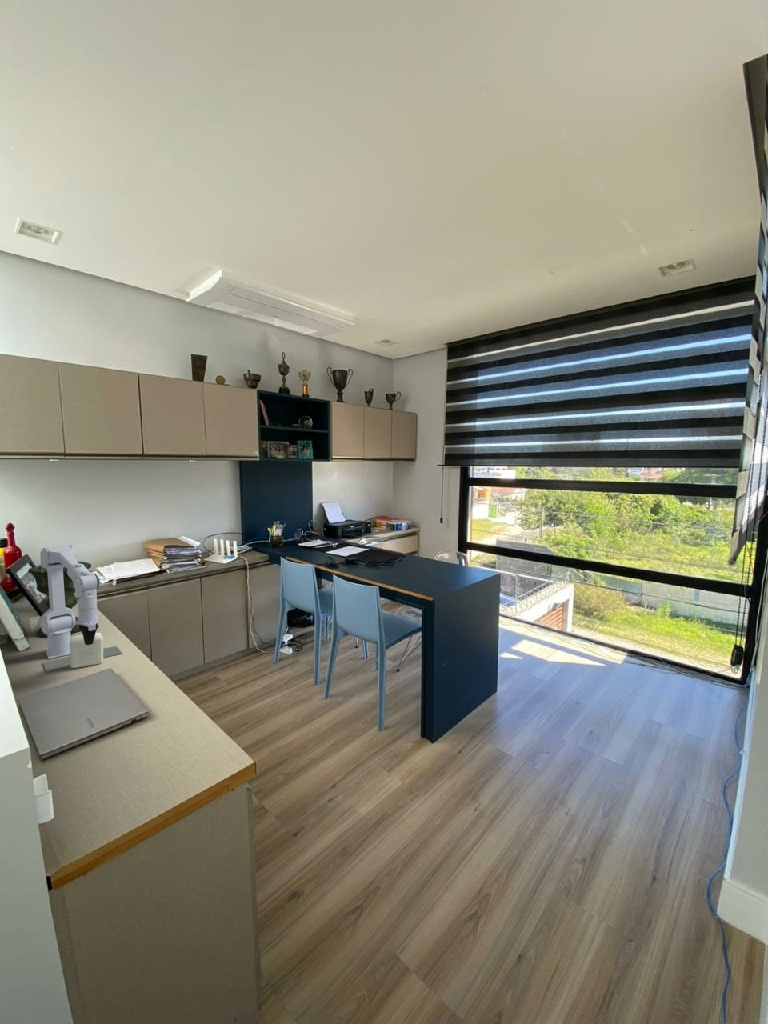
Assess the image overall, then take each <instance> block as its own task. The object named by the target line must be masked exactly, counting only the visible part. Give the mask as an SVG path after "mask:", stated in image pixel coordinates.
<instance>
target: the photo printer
mask: <svg viewBox="0 0 768 1024" xmlns="http://www.w3.org/2000/svg"><path fill="white" fill-rule="evenodd" d="M70 639H71V641H70V654H69V657H70V667H69V668H71V669H76V668H77V669H78V668H83V667H89V666H94V665H100V664H102V663H104V658H103V649H104V638H103V636H102V633H101V632H96V633H95V637H94V642H93V644H91V645H86V644H85V642H84V638H83V635H82V633H81V634H76V635H74V636H71V637H70Z"/></svg>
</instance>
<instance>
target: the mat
mask: <svg viewBox="0 0 768 1024" xmlns="http://www.w3.org/2000/svg"><path fill="white" fill-rule="evenodd" d="M122 654H123V652H122V651H121V650H120V648H118V646H117V645H114V646H109V647H105V648H104V647H103V659H107V658H110V657H111V658H112V657H115V656H119V655H122ZM42 665H43V669H44V671H45V672H46V673H50V672H53V671H58V670H62V669H67V668H71V667H70V656H66V657H63V658H62V657H61V658H57V659H53V660H49V661H48V660H47V661H45V662H42Z"/></svg>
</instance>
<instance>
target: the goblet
mask: <svg viewBox="0 0 768 1024" xmlns="http://www.w3.org/2000/svg"><path fill="white" fill-rule="evenodd" d="M77 562H78V563H80V564H83V565H84V566H85V567H86V568H87V570H88V571H89V569H91V567H92V564H91V563H90V562H87V561H77ZM67 570H68V569H67V568H66V567H65V566H64V568H63V581H64V594H65V607H67V608H70V609H71V610H73V608H74V607H75V606H76V605H78V599H77V597H76V593H75V589H74V582H73V581H72V579H71V578H70V577H69V576H68V574H67ZM27 572H28V574H30V575H32V576H33V578H34V580H35V583H36V590H37V592H39V593H41V594H44V595H46V596H49V586H48V573H47V569H46V568H42V565H41V564H39V565H36V566H33V567H30V568H29V569H28V571H27ZM45 606H46V608H47V609H48V610H49V609H50V599H49V598H48V600H47V601H46V602H45ZM63 615H64V614H63ZM74 617H75V621H78V616H74ZM78 626H80V624H76V625H75V626H74V627H73V628H72V630H71V631H70V635H72V634H75V633H78V632H81V630H80V629H79V627H78ZM36 636H38V637H39V638H48V636H47V634H45V633H43V631H42V628H41V626H40V627H39V628H38V630H37V632H36Z"/></svg>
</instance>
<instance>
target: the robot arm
mask: <svg viewBox="0 0 768 1024" xmlns="http://www.w3.org/2000/svg"><path fill="white" fill-rule="evenodd" d="M76 555H77V553H76V548H75V546H73V545H72V544H69V545H61V546H50V547H43V548H42V549H41V551H40V565H42V568H46V569H47V573H48V586H49V595H48V596H49V597H48V600H49V599H50V609H49V608H48V610H47V611H46V612H44V613H43V614H42V615H41V623H40V627H41V628H42V631H43V633H45V634H47V636H48V637H47V649H46V650H45V654H46V657H47V659H48V660H51V659H54V658H60V657H63V656H68V655H69V656H70V641H71V634H70V631H71V630H72V628H73V627H74V626H75V625H76V624H80V626H78V627H79V629H80V630H81V631H80V632H81V634H82V635H83V638H84V642H85V644H86V645H91V644H93V642H94V637H95V633H97V630H98V629H99V624H98V621H99V615H98V595H97V593H98V591H97V590H98V589H100V585H101V584H100V582H101V581H100V577H99V576H98V574H97V573H93V572H90V571H89V569H88V570H87V568H86V567H85V566H84V565H83V564H80V563H78V562H79V561H77V559H76ZM64 566H65V567H66V568H67V569H68V570H67V574H68V576H69V577H70V578H71V579H72V581H73V582H74V589H75V597H77V599H78V603H77V617H78V621H75V617H76V616H75V614H74V611H73V609H70V608H67V607H65V594H64V581H63V568H64ZM63 614H64V615H63Z"/></svg>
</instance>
